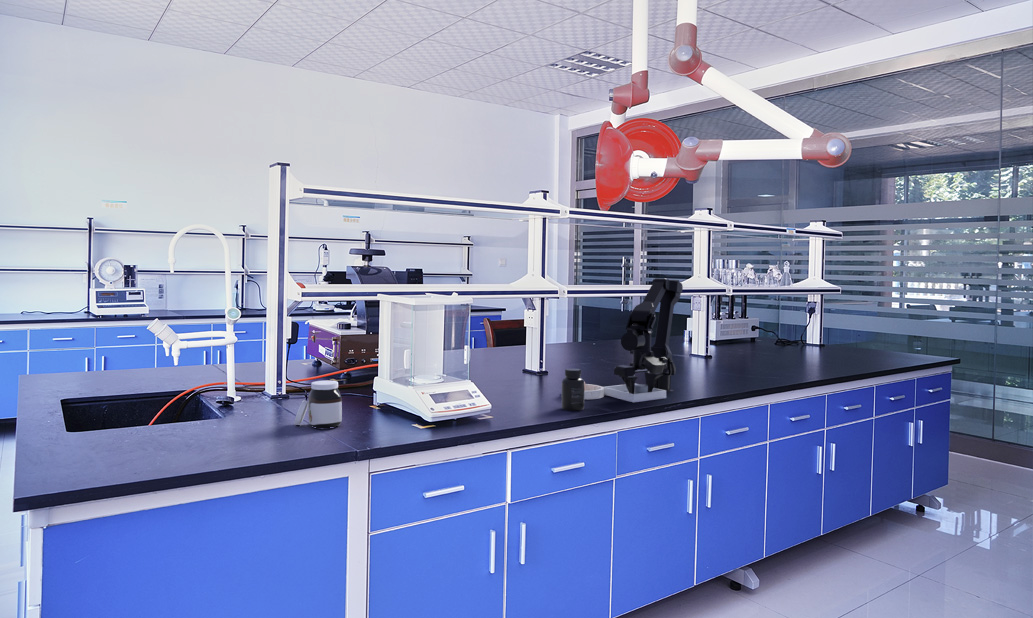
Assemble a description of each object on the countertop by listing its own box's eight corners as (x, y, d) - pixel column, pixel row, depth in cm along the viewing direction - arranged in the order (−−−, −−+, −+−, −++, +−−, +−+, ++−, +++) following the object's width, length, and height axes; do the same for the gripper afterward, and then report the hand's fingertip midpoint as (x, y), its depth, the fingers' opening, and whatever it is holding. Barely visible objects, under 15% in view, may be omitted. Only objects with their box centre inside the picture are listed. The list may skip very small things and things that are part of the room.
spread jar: (345, 428, 173) (345, 384, 172) (301, 434, 166) (301, 388, 166) (331, 419, 183) (331, 377, 182) (289, 424, 177) (288, 380, 176)
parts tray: (634, 392, 228) (634, 383, 228) (666, 399, 215) (666, 390, 215) (602, 395, 220) (602, 386, 220) (633, 404, 207) (633, 394, 207)
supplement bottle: (586, 407, 201) (587, 368, 201) (581, 412, 195) (581, 371, 194) (564, 405, 204) (565, 367, 203) (558, 410, 197) (559, 370, 197)
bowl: (586, 392, 227) (586, 382, 227) (611, 398, 216) (611, 388, 215) (554, 395, 220) (555, 386, 220) (579, 402, 209) (579, 392, 208)
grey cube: (641, 395, 218) (641, 383, 218) (650, 398, 214) (650, 386, 214) (631, 397, 215) (631, 385, 215) (640, 399, 212) (640, 387, 212)
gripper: (637, 352, 202) (636, 403, 203) (681, 349, 212) (679, 397, 213) (613, 348, 211) (612, 396, 212) (656, 345, 221) (655, 391, 222)
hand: (640, 395), depth 215 cm, fingers open, 7 cm apart
